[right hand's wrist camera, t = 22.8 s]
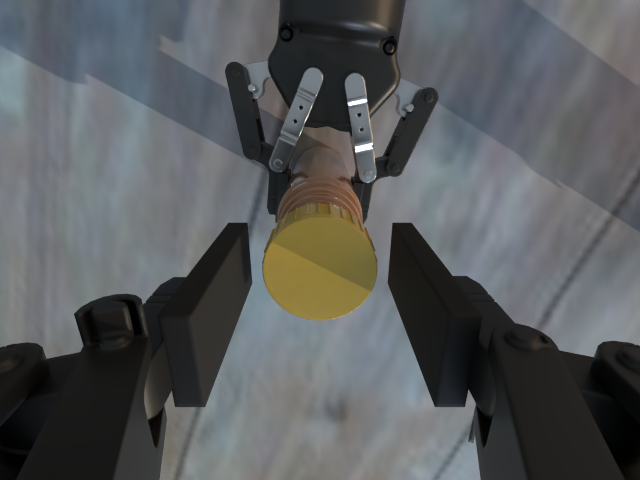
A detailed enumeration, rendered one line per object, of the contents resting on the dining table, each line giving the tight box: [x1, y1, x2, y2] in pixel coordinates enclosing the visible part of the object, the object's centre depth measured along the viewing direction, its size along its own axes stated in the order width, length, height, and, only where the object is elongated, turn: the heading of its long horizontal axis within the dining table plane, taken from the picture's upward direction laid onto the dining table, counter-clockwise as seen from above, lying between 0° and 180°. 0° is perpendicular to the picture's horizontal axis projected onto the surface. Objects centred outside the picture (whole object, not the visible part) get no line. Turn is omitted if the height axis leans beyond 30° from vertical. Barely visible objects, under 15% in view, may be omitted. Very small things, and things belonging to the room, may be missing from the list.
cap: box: [263, 203, 377, 320], centre depth 14 cm, size 4×4×2 cm
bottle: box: [277, 146, 363, 225], centre depth 22 cm, size 5×5×20 cm
